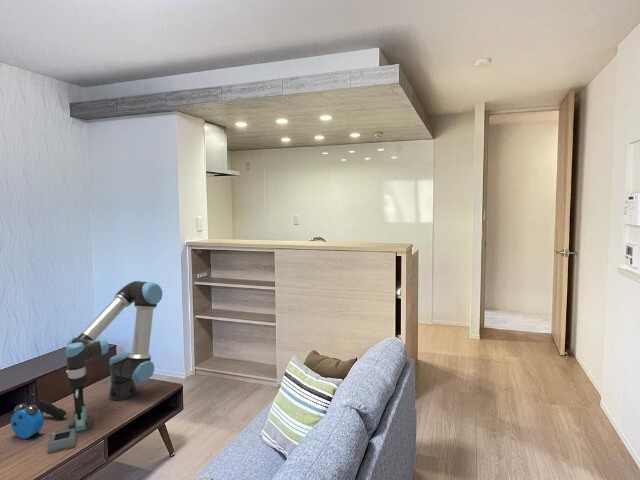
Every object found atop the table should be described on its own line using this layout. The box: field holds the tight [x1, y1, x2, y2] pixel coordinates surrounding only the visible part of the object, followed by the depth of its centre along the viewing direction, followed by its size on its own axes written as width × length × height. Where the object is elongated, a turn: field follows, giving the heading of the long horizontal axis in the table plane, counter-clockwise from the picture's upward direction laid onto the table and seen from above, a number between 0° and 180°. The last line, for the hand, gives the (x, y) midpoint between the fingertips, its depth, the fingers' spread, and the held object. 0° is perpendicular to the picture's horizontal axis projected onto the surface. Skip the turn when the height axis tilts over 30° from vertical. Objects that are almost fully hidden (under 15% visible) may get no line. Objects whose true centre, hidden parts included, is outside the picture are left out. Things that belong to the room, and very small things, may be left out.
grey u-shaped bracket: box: [67, 415, 94, 431], centre depth 201 cm, size 9×7×4 cm
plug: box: [73, 405, 87, 432], centre depth 200 cm, size 4×4×11 cm
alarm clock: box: [10, 403, 45, 439], centre depth 195 cm, size 13×6×15 cm, turn 75°
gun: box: [38, 399, 68, 421], centre depth 211 cm, size 3×16×10 cm, turn 79°
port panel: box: [46, 428, 78, 454], centre depth 187 cm, size 10×10×4 cm
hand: (80, 422), depth 201 cm, fingers closed on plug, 4 cm apart
